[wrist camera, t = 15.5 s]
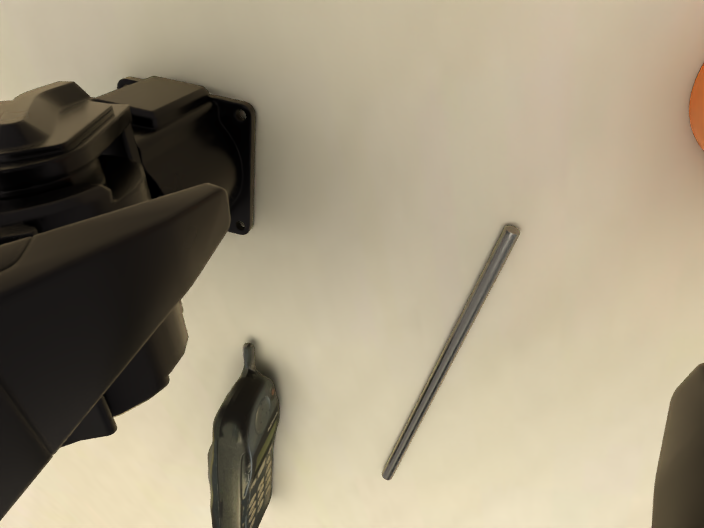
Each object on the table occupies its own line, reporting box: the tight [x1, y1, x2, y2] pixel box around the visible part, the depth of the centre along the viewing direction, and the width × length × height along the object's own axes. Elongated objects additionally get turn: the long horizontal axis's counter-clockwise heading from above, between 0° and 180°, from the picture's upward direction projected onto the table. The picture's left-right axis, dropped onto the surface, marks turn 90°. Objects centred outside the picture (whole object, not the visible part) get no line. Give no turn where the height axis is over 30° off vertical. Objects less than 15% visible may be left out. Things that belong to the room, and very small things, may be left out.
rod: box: [382, 225, 520, 480], centre depth 28 cm, size 1×19×1 cm, turn 165°
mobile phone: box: [208, 343, 279, 528], centre depth 32 cm, size 5×3×15 cm
